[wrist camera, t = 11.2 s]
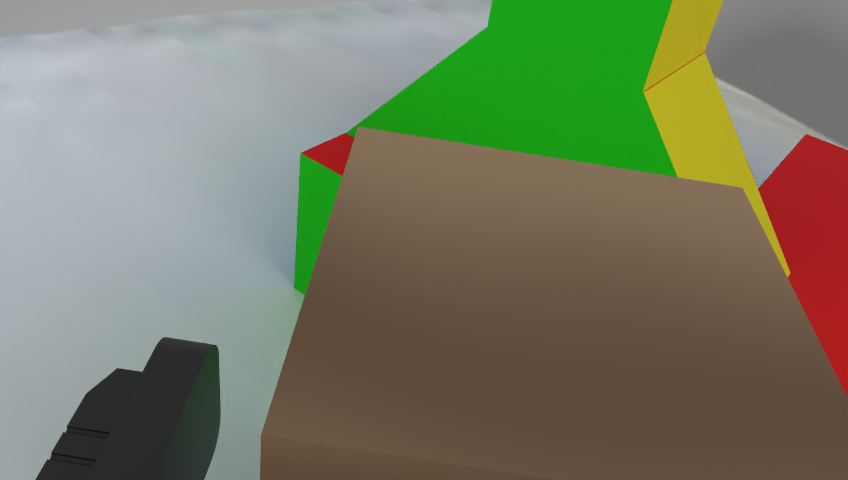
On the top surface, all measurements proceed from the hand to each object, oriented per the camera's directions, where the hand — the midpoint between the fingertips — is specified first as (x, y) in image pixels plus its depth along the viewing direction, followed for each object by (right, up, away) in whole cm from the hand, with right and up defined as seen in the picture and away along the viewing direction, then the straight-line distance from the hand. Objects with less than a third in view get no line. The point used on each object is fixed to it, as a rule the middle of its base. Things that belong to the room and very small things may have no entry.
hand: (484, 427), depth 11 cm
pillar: (-1, -7, +3) cm, 8 cm away
